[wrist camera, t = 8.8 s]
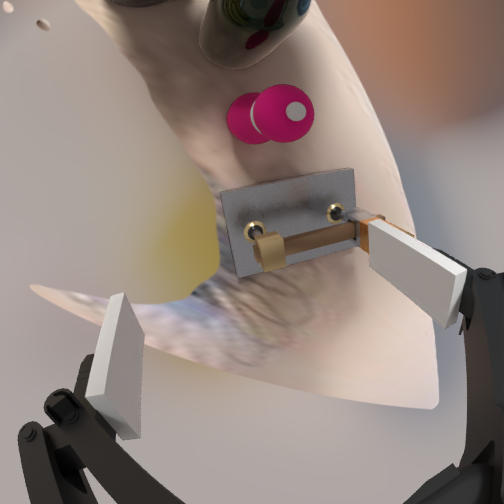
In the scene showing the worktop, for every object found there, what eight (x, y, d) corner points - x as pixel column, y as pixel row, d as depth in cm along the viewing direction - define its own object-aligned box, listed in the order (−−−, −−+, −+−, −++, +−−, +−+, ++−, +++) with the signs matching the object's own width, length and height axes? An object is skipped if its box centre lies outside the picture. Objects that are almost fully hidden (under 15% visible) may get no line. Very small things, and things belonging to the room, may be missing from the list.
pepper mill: (278, 131, 44) (347, 133, 26) (236, 151, 43) (280, 164, 25) (259, 89, 40) (317, 62, 22) (214, 108, 40) (244, 88, 22)
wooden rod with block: (240, 223, 46) (256, 244, 37) (355, 197, 49) (389, 212, 41) (244, 247, 48) (260, 273, 39) (356, 220, 51) (389, 238, 42)
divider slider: (328, 204, 48) (395, 241, 32) (344, 201, 48) (414, 235, 33) (330, 227, 49) (394, 271, 34) (346, 224, 50) (412, 265, 34)
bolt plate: (219, 192, 45) (221, 194, 44) (348, 167, 48) (354, 169, 47) (236, 274, 51) (238, 278, 49) (353, 243, 54) (357, 246, 53)
